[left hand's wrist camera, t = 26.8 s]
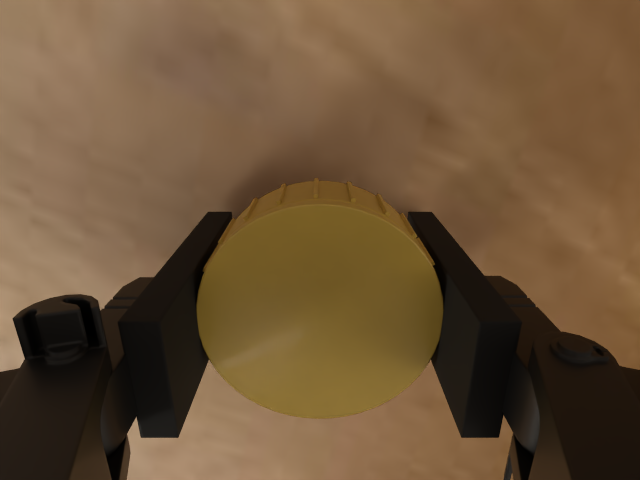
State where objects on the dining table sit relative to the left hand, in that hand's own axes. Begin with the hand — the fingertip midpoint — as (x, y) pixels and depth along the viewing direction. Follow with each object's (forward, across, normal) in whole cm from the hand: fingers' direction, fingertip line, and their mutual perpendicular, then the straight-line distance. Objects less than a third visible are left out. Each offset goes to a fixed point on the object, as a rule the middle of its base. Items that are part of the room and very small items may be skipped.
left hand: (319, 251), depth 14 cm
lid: (-4, 0, 0) cm, 4 cm away
